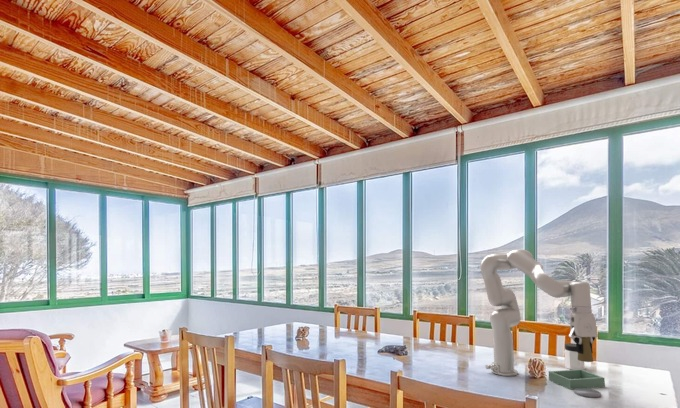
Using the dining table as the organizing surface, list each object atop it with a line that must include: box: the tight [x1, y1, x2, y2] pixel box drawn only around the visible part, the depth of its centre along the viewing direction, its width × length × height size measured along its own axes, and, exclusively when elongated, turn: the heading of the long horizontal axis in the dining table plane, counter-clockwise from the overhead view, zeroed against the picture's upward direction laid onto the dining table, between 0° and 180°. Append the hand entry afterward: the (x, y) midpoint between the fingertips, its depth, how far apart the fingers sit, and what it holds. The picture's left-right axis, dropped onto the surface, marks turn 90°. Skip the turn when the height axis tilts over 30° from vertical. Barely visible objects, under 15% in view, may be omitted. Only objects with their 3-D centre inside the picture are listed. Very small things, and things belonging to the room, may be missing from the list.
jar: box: [563, 342, 586, 371], centre depth 218 cm, size 9×8×12 cm
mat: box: [573, 388, 602, 399], centre depth 178 cm, size 10×10×1 cm
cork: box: [578, 337, 594, 363], centre depth 180 cm, size 6×6×11 cm
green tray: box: [548, 369, 606, 390], centre depth 192 cm, size 18×14×4 cm
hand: (584, 352), depth 180 cm, fingers closed on cork, 3 cm apart
